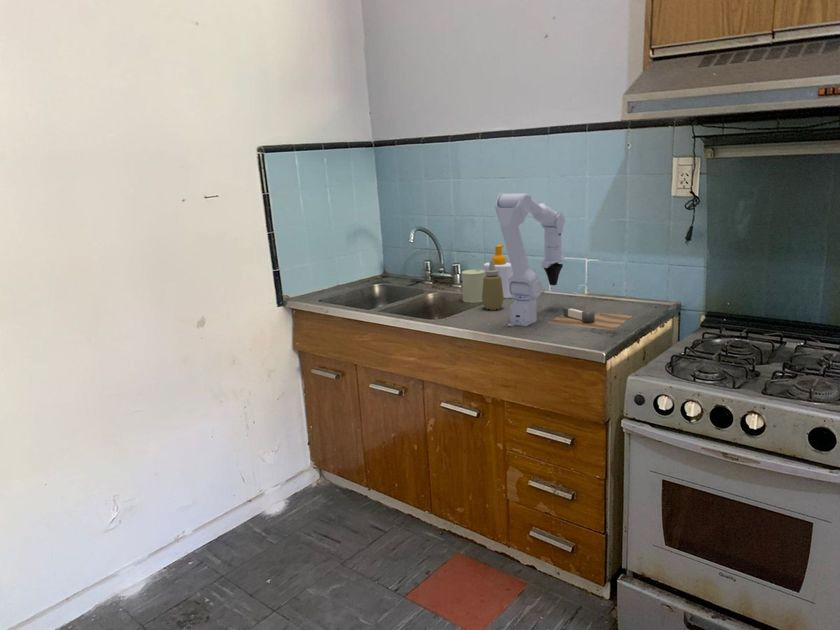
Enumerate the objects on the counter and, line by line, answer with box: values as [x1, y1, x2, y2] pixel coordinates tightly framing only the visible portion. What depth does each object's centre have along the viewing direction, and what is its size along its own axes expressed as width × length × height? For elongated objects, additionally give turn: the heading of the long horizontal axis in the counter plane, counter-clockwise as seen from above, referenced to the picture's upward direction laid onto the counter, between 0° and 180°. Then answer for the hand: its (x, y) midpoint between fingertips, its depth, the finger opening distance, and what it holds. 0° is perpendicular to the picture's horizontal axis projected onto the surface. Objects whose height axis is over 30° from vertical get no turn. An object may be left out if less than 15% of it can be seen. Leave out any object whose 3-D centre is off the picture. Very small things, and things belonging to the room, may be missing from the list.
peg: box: [562, 306, 595, 323], centre depth 208 cm, size 13×4×3 cm, turn 30°
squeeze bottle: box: [482, 259, 505, 311], centre depth 231 cm, size 8×8×18 cm
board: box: [547, 311, 633, 331], centre depth 207 cm, size 19×22×1 cm
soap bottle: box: [483, 244, 513, 299], centre depth 250 cm, size 13×8×20 cm, turn 56°
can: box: [461, 269, 485, 304], centre depth 247 cm, size 9×9×12 cm
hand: (553, 284), depth 221 cm, fingers closed
